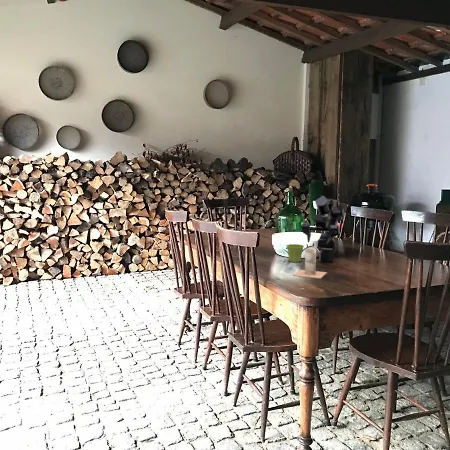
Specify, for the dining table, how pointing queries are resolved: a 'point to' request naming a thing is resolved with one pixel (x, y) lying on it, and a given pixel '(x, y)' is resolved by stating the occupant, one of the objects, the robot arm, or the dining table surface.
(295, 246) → the plant pot
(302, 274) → the placemat
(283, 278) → the dining table surface
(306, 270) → the white cylinder
